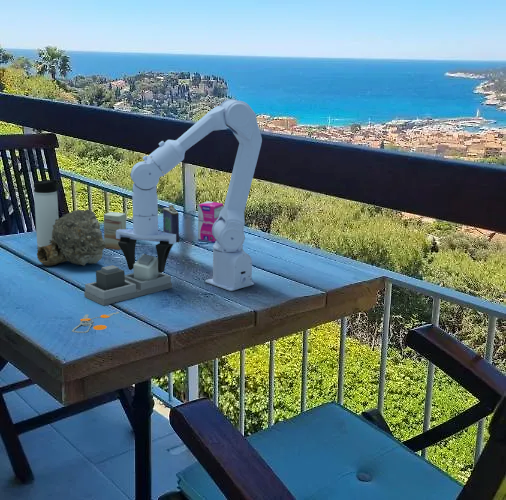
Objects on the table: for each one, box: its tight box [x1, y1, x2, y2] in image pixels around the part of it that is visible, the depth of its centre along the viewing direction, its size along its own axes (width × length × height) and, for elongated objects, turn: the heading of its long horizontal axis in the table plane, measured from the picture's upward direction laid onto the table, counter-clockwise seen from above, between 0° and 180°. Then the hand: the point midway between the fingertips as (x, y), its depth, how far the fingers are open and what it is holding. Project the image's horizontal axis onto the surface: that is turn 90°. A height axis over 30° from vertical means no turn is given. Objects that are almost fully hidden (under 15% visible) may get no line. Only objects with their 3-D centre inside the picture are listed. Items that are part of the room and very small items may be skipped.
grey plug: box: [133, 253, 159, 281], centre depth 159 cm, size 4×5×6 cm
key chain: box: [71, 311, 120, 334], centre depth 139 cm, size 13×7×1 cm, turn 172°
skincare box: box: [103, 211, 127, 251], centre depth 195 cm, size 5×4×10 cm
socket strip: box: [83, 272, 173, 306], centre depth 157 cm, size 8×19×3 cm, turn 135°
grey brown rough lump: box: [36, 208, 106, 267], centre depth 177 cm, size 18×14×15 cm
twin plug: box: [95, 264, 126, 291], centre depth 153 cm, size 4×5×6 cm
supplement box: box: [197, 200, 224, 244], centre depth 205 cm, size 6×6×12 cm
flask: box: [162, 204, 180, 243], centre depth 206 cm, size 9×3×11 cm, turn 28°
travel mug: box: [33, 178, 60, 251], centre depth 191 cm, size 6×7×20 cm
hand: (146, 270), depth 160 cm, fingers open, 7 cm apart
